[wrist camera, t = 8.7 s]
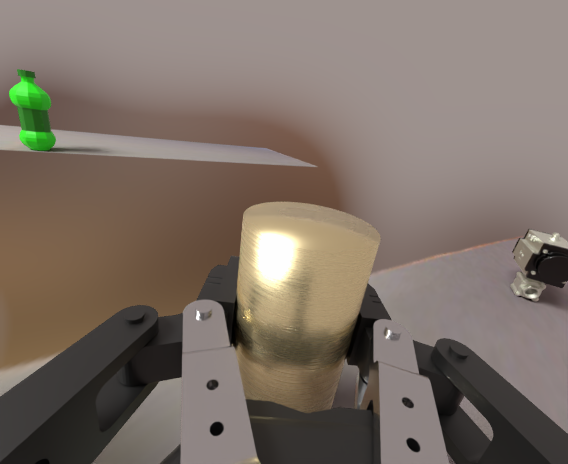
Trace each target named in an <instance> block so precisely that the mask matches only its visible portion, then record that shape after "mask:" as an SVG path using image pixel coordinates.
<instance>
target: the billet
mask: <svg viewBox="0 0 568 464" xmlns="http://www.w3.org/2000/svg"><path fill="white" fill-rule="evenodd" d="M379 243H380V235H379V233H378V231H377V230H376V229H375V228H374V227H372V226H371V225H370V224H368V223H367V222H365V221H363V220H361V219H359V218H357V217H355V216H352V215H350V214H347V213H344V212H341V211H338V210H335V209H331V208H327V207H322V206H318V205H312V204H306V203H296V202H269V203H262V204H257V205H254V206H252V207H250V208H248V209H247V210H246V211H245V212H244V215H243V225H242V236H241V247H240V258H239V269H238V281H237V292H236V293H237V296H236V307H235V318H234V329H233V340H232V346H234V348H235V351H236V356H237V361H238V366H239V370H240V375H241V380H242V385H243V390H244V395H245V399H251V400H262V401H272V402H275V403H278V404H281V405H284V406H286V407H289V408H292V409H295V410H298V411H301V412H304V413H312V412H317V411H323V410H328V409H331V407H332V404H333V400H334V397H335V393H336V390H337V386H338V383H339V380H340V376H341V373H342V369H343V366H344V362H345V359H346V356H347V352H348V349H349V345H350V342H351V339H352V335H353V332H354V328H355V325H356V321H357V318H358V315H359V311H360V308H361V304H362V301H363V297H364V294H365V291H366V287H367V284H368V280H369V277H370V274H371V270H372V267H373V263H374V260H375V256H376V253H377V250H378V246H379Z"/></svg>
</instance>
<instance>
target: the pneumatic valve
mask: <svg viewBox="0 0 568 464" xmlns="http://www.w3.org/2000/svg"><path fill="white" fill-rule="evenodd" d="M512 253H513V254H514V258H513V259H514V260H515V261H516V263H517V264H518V266H519V267H520V269H521V270H522V272H523V273H524V274H523V273H522V272H518V273H517V274H516V275H517V277H516V278H515V280H514V283H512V284H511V285H510V286H511V288H512V290H513V292H514V294H515V295H516V296H523V297H525V298H529V299H531V300H532V301H538V300H539V298H538V297H539V296H540V294H541V293H542V290H543V289H545V288H546V286H545V284H544V283H546V284H550V285H553V286H556V287H560V288H563V287H564V285H565V283H566V282H567V281H568V241H566V240H565V239H563V238H562V237H561V236H560V234H558V233H553V234H549V233H544V232H540V231H536V230H532V229H528V231H527V233H526V235H525V237H524V238H519V240H518V242H517V243H516V245H515V247H514V249H513V251H512Z"/></svg>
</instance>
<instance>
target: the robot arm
mask: <svg viewBox="0 0 568 464" xmlns="http://www.w3.org/2000/svg"><path fill="white" fill-rule="evenodd" d="M239 258H240V257H235V256H231V257H230V260H229V263H228V265H227V266H224V265H217V266H216V267H214V268H213V269H212V270H211V271H210V273H209V275H208V278H207V279H206V282H205V284H204V286H203V288H202V290H201V292H200V294H199V296H198V298H197V300H196V301H195V302H192V303H190V304H189V305H187V306H186V307H185V309H184V311H183V313H181V314H178V315H173V316H164V317H158V312H157V311H156V310H155V309H154V308H152V307H150V306H144V305H137V306H131V307H128V308H125V309H123V310H121V311H119V312H118V313H116V314H115V315H113V316H112V317H111V318H109V319H108V320H106V321H105V322H104V323H102V324H101V325H99V326H98V327H97V328H95V329H94V330H93V331H91V332H90V333H88V334H87V335H85V336H84V337H83V338H81V339H80V340H79V341H77V342H76V343H74V344H73V345H72V346H70V347H69V348H67V349H66V350H65V351H63V352H62V353H60V354H59V355H58V356H56V357H55V358H53V359H52V360H51V361H49V362H48V363H47V364H45V365H44V366H42V367H41V368H40V369H38V370H37V371H35V372H34V373H33V374H31V375H30V376H28V377H27V378H26V379H24V380H23V381H21V382H20V383H19V384H17V385H16V386H15V387H13V388H12V389H10V390H9V391H8V392H6V393H5V394H3V395H2V396H1V397H0V464H92V462H93V461H94V460H95V459H96V458H97V456H98V455H99V454H100V453H101V452H102V450H103V449H104V448H105V447H106V446H107V444H108V443H109V442H110V441H111V440H112V438H113V437H114V436H115V435H116V434H117V432H118V431H119V430H120V429H121V427H122V426H123V425H124V424H125V423H126V421H127V420H128V419H129V418H130V417H131V415H132V414H133V413H134V412H135V411H136V409H137V408H138V407H139V406H140V405H141V403H142V402H143V401H144V400H145V399H146V397H147V396H148V395H149V394H150V393H151V391H152V390H153V389H154V388H155V387H156V385H157V384H158V382H159V381H163V380H169V379H174V378H179V377H182V401H181V444H180V445H179V446H178V447H177V448H176V449H175V450H174V451H173V452H172V453H170V454H169V455H168V456H167V457H166V458H165V459H164V460H163V461H162V462H161V463H160V464H449V460H448V456H447V452H448V454H449V455H450V456H451V458H452V459H453V461H454V462H455V463H456V464H568V434H567V433H566V432H565V431H564V430H563V429H561V428H560V427H559V426H558V425H557V424H556V423H555V422H553V421H552V420H551V419H550V418H549V417H548V416H546V415H545V414H544V413H543V412H542V411H541V410H540V409H538V408H537V407H536V406H535V405H534V404H533V403H532V402H530V401H529V400H528V399H527V398H526V397H525V396H524V395H522V394H521V393H520V392H519V391H518V390H517V389H516V388H514V387H513V386H512V385H511V384H510V383H509V382H507V381H506V380H505V379H504V378H503V377H502V376H501V375H499V374H498V373H497V372H496V371H495V370H494V369H493V368H491V367H490V366H489V365H488V364H487V363H486V362H485V361H483V360H482V359H481V358H480V357H479V356H478V355H477V354H475V353H474V352H473V351H472V350H471V349H469V348H468V347H467V346H465V345H463V344H461V343H459V342H457V341H455V340H451V339H445V338H444V339H439V340H438V341H437V342H436V344H435V347H432V346H429V345H425V344H422V343H419V342H417V341H414V340H413V339H412V335H411V334H410V332H409V331H408V330H407V329H406V328H405V327H404V326H402V325H401V324H399V323H397V322H395V321H392V320H391V318H390V316H389V314H388V313H387V311H386V309H385V307H384V305H383V304H382V302H381V300H380V298H378V295H377V293H376V291H375V289H374V288H373V287H371V286H370V285H369V284H367V287H366V291H365V294H364V297H363V301H362V304H361V308H360V311H359V315H358V318H357V321H356V325H355V328H354V332H353V335H352V339H351V342H350V345H349V349H348V352H347V356H346V359H347V363H348V365H356V366H358V368H359V371H358V375H357V378H356V391H355V405H354V409H351V408H340V407H339V408H334V409H328V410H323V411H317V412H312V413H304V412H301V411H298V410H295V409H292V408H289V407H286V406H284V405H281V404H278V403H275V402H272V401H262V400H251V399H245V395H244V390H243V385H242V380H241V375H240V370H239V366H238V361H237V356H236V351H235V348H234V346H232V340H233V329H234V318H235V307H236V296H237V293H236V292H237V281H238V269H239ZM464 396H465V397H466V398H467V399H468V400H469V401H470V402H471V403H472V404H473V405H474V406H475V407H476V409H477V410H478V411H479V412H480V413H481V414H482V415H483V416H484V417H485V418H486V419H487V420H488V422H489V423H490V425H491V427H492V430H493V439H492V441H490V440H489V439H488V438H487V436H486V435H485V434H484V433H483V432H482V431H481V430H480V429H479V427H478V426H477V425H476V424H475V423H474V422H473V421H472V420H471V418H470V417H469V416H468V415H467V414H466V413H465V412H464V411H463V409H462V408H461V407H460V406H459V405H460V403H461V401H462V399H463V397H464Z"/></svg>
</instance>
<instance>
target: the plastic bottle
mask: <svg viewBox="0 0 568 464" xmlns="http://www.w3.org/2000/svg"><path fill="white" fill-rule="evenodd" d="M17 71H18V75H19V76H21V81H22V82H20V83H18V84H17V85H15V86H14V87H13V88H12V89H10V93H9V95H10V99H11V101H12V102H13V104H14V105H16V106H17V108H18V113H19V118H20V122H21V128H22V130H21V132H20V140H21V141H22V143H23V144H24V145H26V146H27V147H29V148H31V149H32V150H39V151H46V150H50V149H51V148H52V147H53V146H54V145H55V142H56V138H55V136H54V134H53V133H52V132H51V128H50V122H49V116H48V109H49V108H50V107H51V100H50V97H49V96H48V94H47V93H46V92H44V91H43V90H42V89H41V88H39V87H38V86H37V85H36V84H35V83H34V78H35V73H34V72H31V71H25V70H19V69H18V70H17Z"/></svg>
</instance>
